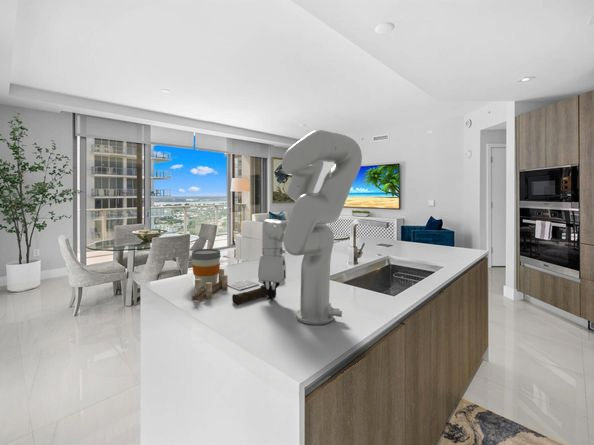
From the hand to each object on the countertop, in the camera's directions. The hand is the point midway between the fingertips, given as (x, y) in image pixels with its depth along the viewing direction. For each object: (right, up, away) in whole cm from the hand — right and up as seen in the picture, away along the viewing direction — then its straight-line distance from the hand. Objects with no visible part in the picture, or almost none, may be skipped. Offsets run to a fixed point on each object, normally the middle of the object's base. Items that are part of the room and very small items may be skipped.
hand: (271, 298), depth 120 cm
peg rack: (-25, 0, +7) cm, 26 cm away
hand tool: (-7, -1, +2) cm, 8 cm away
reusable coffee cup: (-31, +1, +20) cm, 37 cm away
